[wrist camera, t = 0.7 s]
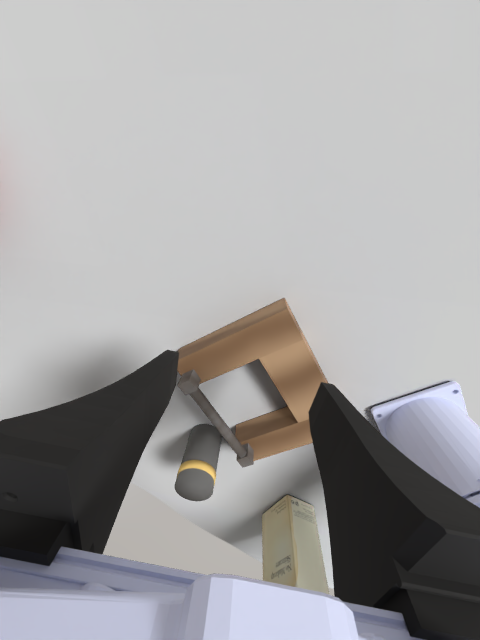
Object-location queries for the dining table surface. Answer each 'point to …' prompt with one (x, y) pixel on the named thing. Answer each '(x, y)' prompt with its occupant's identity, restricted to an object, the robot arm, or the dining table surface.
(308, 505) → the skincare box
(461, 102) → the dining table surface
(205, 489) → the grey cylinder with band
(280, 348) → the wooden bracket with rod
